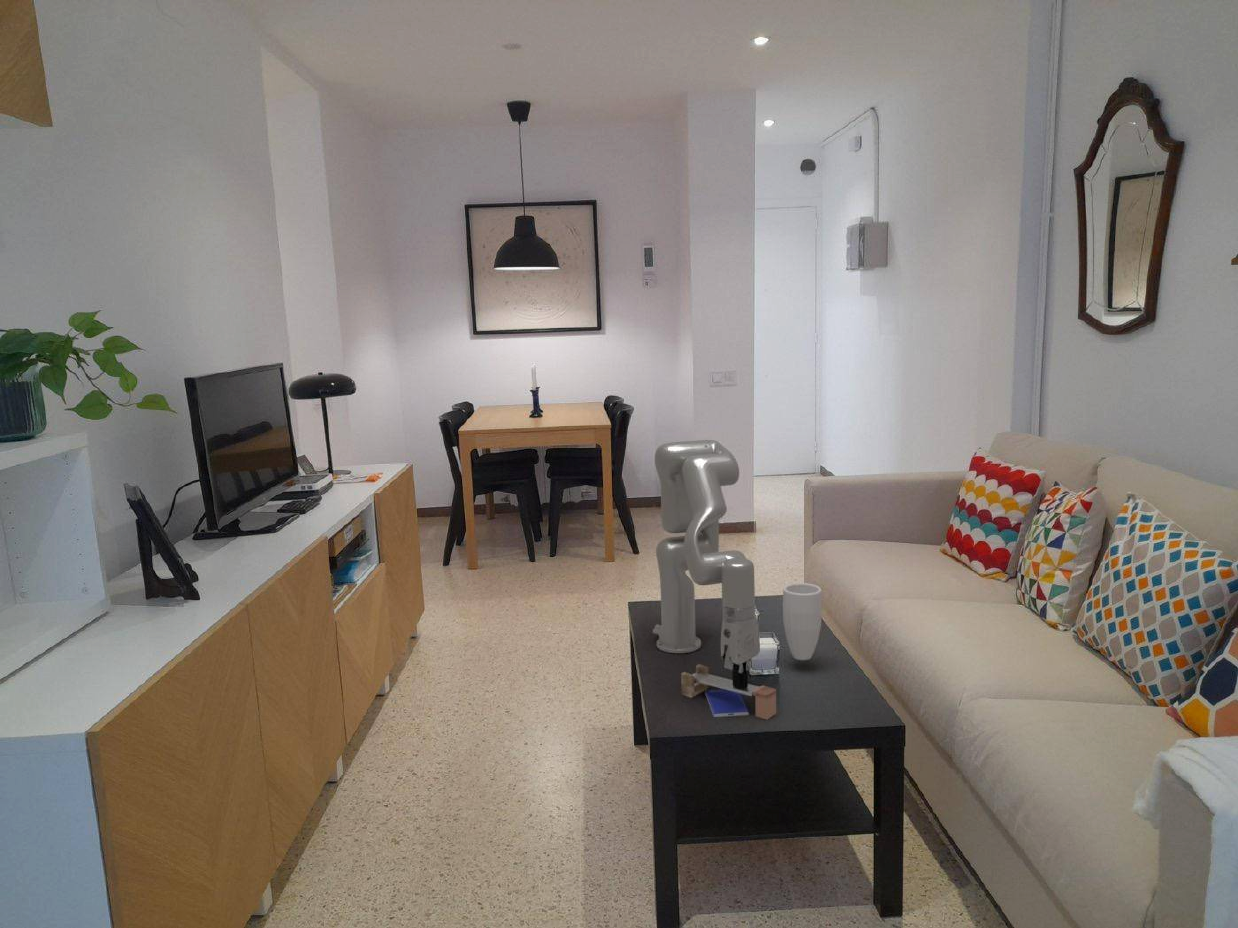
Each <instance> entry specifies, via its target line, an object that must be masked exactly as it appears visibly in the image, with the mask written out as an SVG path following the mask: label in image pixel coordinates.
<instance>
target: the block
mask: <svg viewBox="0 0 1238 928" xmlns="http://www.w3.org/2000/svg"><path fill="white" fill-rule="evenodd" d="M758 687H759V688H757V689H756V690H754V691H753V696H755V717H757V718H760V719H763V720H765V719H766V720H765V721H767V720H769V719H770V718H772V717H773V716H775V715H776V714H777V688H773V687H769V686H766V685H760V686H758Z"/></svg>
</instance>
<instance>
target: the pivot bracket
mask: <svg viewBox="0 0 1238 928" xmlns="http://www.w3.org/2000/svg"><path fill="white" fill-rule="evenodd" d="M709 670H710V668H709V666H706V665H703V664H700V663H699V664H697V665H696V666H695V673H696V672H698V671H701V672H702V673H706V674H710V671H709ZM692 674H693V673H692ZM692 674H691V673H689V672H686V671H684V672H682V673H680V679H681V681H680V682H681V685H680V686H681V695H682V696H685V697H688V698H691V699H692V698H694V697H695V696H697V695H699V694H701V693H703V692H705V691H707V690H709V688H710V685H707V684H703V683H699V682H695V681H694V675H692Z"/></svg>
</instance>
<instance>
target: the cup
mask: <svg viewBox="0 0 1238 928" xmlns="http://www.w3.org/2000/svg"><path fill="white" fill-rule="evenodd" d="M782 591H783V592H782V617H783V618H782V619H783V627H784V628H783V629H784V632H785V638H786V642H787V645H788V647H789V650H790V652H791V655H792V657H793V658H794V659H796V660H799V661H808V660H810V659H811V658H812V657H813V655H814V652H815V650H816V647H817V645H818V641H819V637H820V632H821V628H822V612H823V605H822V603H823V602H822V601H823V600H822V599H823V598H822V588H821V587H820V586H818V585H816V584H813V583H808V582H794V583H790V584H785V586H783V588H782Z"/></svg>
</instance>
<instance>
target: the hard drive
mask: <svg viewBox="0 0 1238 928" xmlns="http://www.w3.org/2000/svg"><path fill="white" fill-rule="evenodd" d="M704 693H705V697H706V699H707V703H708V704H709V708H710V711H711V713H712V716H713V717H714V718H718V717H719V718H723V717H738V716H740V717H741V716H749V715H750V714H749V710H748V707H747V705H746V703H745V701H744V699H743V697H742V694H741V693H737V692H733V691H729V690H726V689H722V688H719V689H706V690H705V691H704Z"/></svg>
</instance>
